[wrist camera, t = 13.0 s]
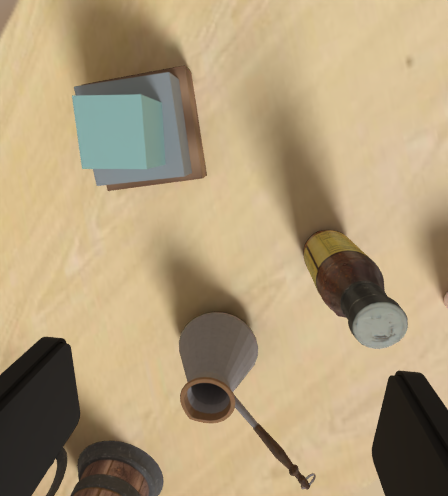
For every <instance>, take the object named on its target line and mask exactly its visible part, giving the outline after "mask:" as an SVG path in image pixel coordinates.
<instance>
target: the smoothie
mask: <svg viewBox="0 0 448 496" xmlns="http://www.w3.org/2000/svg"><path fill="white" fill-rule="evenodd" d="M444 304H445V306H446V307H447V308H448V292H447V293H446V294H445V296H444Z"/></svg>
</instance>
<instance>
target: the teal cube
mask: <svg viewBox="0 0 448 496" xmlns="http://www.w3.org/2000/svg"><path fill="white" fill-rule="evenodd" d="M72 99H73V106H74V114H75V121H76V128H77V135H78V142H79V150H80V157H81V164H82V169H149V168H153V167H157V166H161V165H165V148H164V131H163V115H162V103H161V102H159V101H156V100H154V99H151V98H149V97H146V96H144V95H141V94H137V95H81V96H72Z"/></svg>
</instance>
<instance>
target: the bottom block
mask: <svg viewBox="0 0 448 496" xmlns="http://www.w3.org/2000/svg"><path fill="white" fill-rule="evenodd" d="M166 72H170V73H171V74H172V75H174V76H175V77H176V78H178V79H179V84H180V91H181V98H182V105H183V112H184V119H185V127H186V134H187V141H188V148H189V155H190V162H191V169H192V173H191V174H189V175H187V176H184V177H175V178H166V179H156V180H147V181H138V182H129V183H119V184H110V185H107V190H108V191H111V190H119V189H126V188H134V187H141V186H149V185H156V184H164V183H171V182H178V181H186V180H193V179H201V178H204V177H205V176H207V173H206V166H205V160H204V153H203V147H202V140H201V133H200V127H199V120H198V114H197V107H196V101H195V94H194V88H193V81H192V75H191V72H190V71H189V70H188V69H187V68H186V67H185V66H179V67H174V68H169V69H163V70H158V71H153V72H147V73H142V74H137V75H131V76H126V77H121V78H115V79H110V80H104V81H99V82H94V83H88V84H95V83H101V82H108V81H114V80H121V79H127V78H134V77H140V76H147V75H153V74H160V73H166ZM88 84H83V85H88Z"/></svg>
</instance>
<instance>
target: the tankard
mask: <svg viewBox="0 0 448 496" xmlns="http://www.w3.org/2000/svg"><path fill="white" fill-rule="evenodd" d="M56 460H57V470H56V475H55V478H54V481H53V484H52V486H51V488H50V490H49V492H48V493H47V495H46V496H54V495H55V493H56V492H57V490H58V488H59V486H60V484H61V482H62V480H63V477H64V474H65V471H66V467H67V453H66V451H65V449H64V448H62V449H61V451H60V452H59V454H58V455H57V457H56ZM53 463H54V461H53ZM53 463H52V464H53ZM77 466H78V472H79V473H78V477H79V482H78V483H77V484H76V486H75V488H74V490H73V492H72V494H71V496H158V495H159V494H160V492H161V490H162V488H163V475H162V472H161V469H160V468H159V466H158V464H157V463H156V462H155V461H154V459H153V458H152V457H151V456H149V455H148V454H147V453H146V452H144V451H143V450H141V449H139V448H137V447H135V446H133V445H131V444H127V443H124V442H119V441H102V442H97V443H94V444H92V445H90V446H88V447H87V448H86V449H84V450H83V452H82V453H81V454H80V456H79V459H78V465H77Z"/></svg>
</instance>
